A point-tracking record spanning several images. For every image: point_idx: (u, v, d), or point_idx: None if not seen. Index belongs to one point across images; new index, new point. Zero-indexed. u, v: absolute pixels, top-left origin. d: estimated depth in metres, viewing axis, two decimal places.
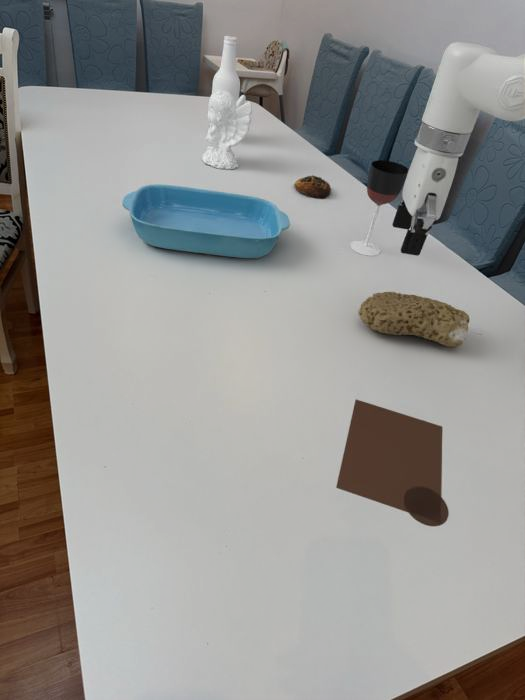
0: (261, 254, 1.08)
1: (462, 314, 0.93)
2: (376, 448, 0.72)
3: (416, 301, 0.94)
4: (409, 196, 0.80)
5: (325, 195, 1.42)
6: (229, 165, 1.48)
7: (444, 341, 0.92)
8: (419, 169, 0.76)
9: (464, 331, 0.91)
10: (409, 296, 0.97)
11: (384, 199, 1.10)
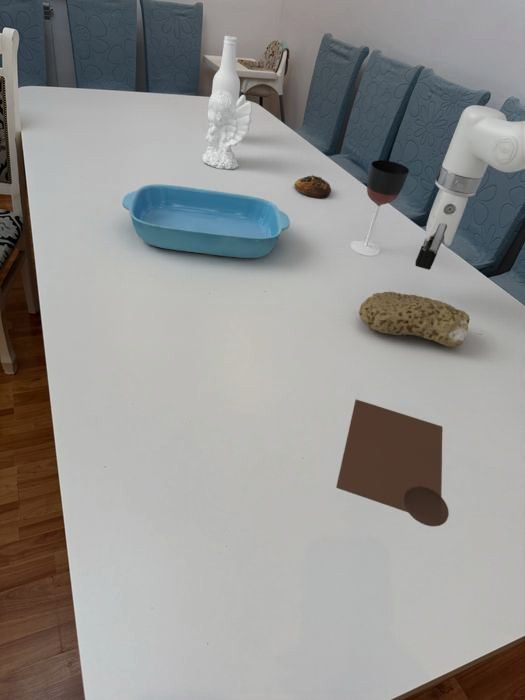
0: (261, 254, 1.08)
1: (462, 314, 0.93)
2: (376, 448, 0.72)
3: (416, 301, 0.94)
4: (428, 224, 0.96)
5: (325, 195, 1.42)
6: (229, 165, 1.48)
7: (444, 341, 0.92)
8: (436, 203, 0.93)
9: (464, 331, 0.91)
10: (409, 296, 0.97)
11: (384, 199, 1.10)
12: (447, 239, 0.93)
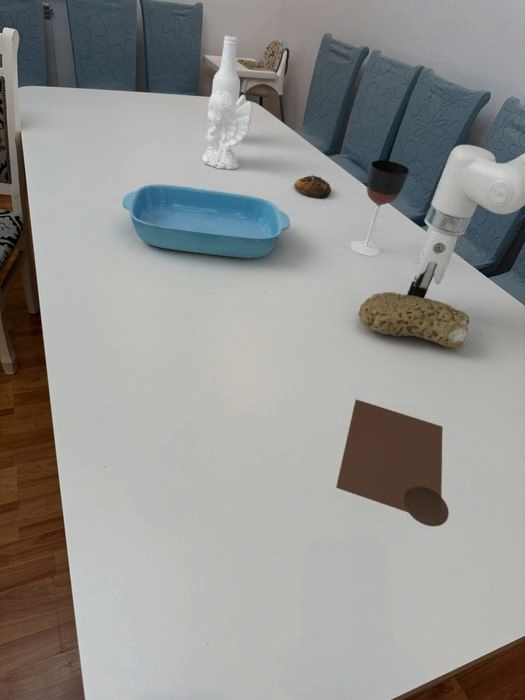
0: (261, 254, 1.08)
1: (462, 315, 0.93)
2: (376, 448, 0.72)
3: (416, 302, 0.94)
4: (418, 261, 0.95)
5: (325, 195, 1.42)
6: (229, 165, 1.48)
7: (444, 342, 0.91)
8: (425, 241, 0.91)
9: (464, 332, 0.91)
10: (409, 297, 0.96)
11: (384, 199, 1.10)
12: (437, 277, 0.92)
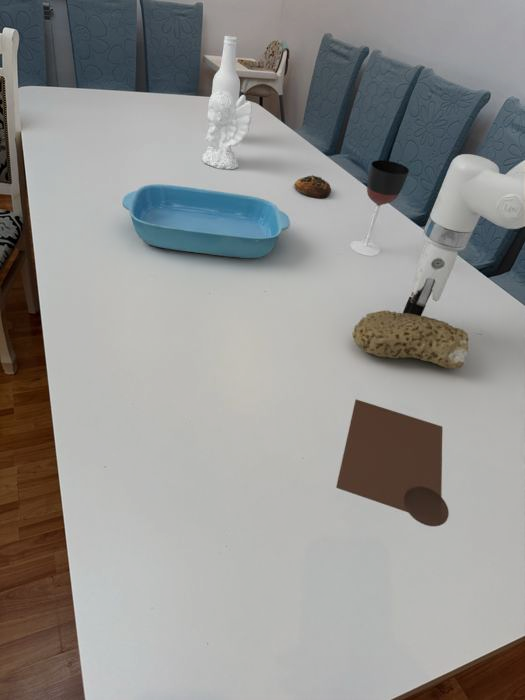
0: (261, 254, 1.08)
1: (461, 333, 0.88)
2: (376, 448, 0.72)
3: (413, 321, 0.88)
4: (415, 277, 0.89)
5: (325, 195, 1.42)
6: (229, 165, 1.48)
7: (444, 363, 0.86)
8: (423, 256, 0.86)
9: (464, 352, 0.86)
10: (404, 315, 0.91)
11: (384, 199, 1.10)
12: (435, 294, 0.86)
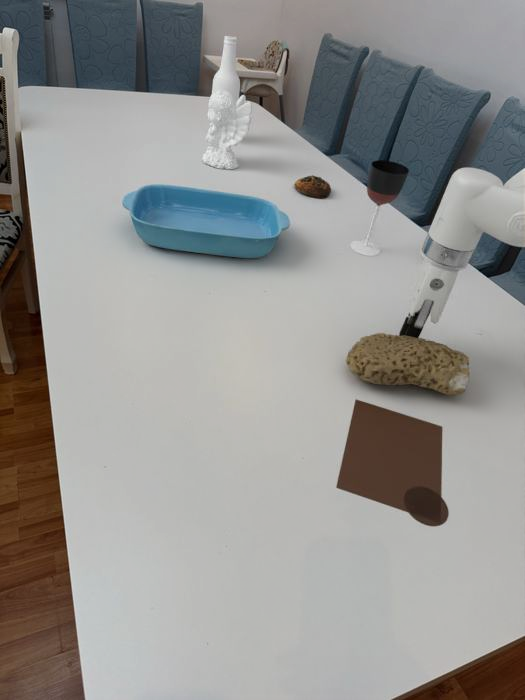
0: (261, 254, 1.08)
1: (461, 357, 0.83)
2: (376, 448, 0.72)
3: (410, 345, 0.83)
4: (412, 297, 0.83)
5: (325, 195, 1.42)
6: (229, 165, 1.48)
7: (444, 390, 0.81)
8: (421, 275, 0.80)
9: (465, 377, 0.81)
10: (401, 338, 0.85)
11: (384, 199, 1.10)
12: (434, 316, 0.81)
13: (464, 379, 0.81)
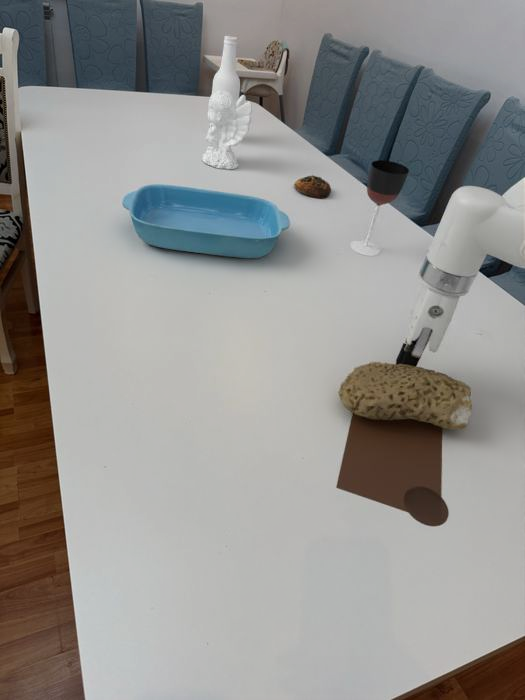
0: (261, 254, 1.08)
1: (463, 388, 0.77)
2: (376, 448, 0.72)
3: (407, 376, 0.76)
4: (409, 323, 0.77)
5: (325, 195, 1.42)
6: (229, 165, 1.48)
7: (445, 425, 0.75)
8: (419, 301, 0.74)
9: (468, 411, 0.75)
10: (397, 367, 0.79)
11: (384, 199, 1.10)
12: (433, 345, 0.74)
13: (466, 413, 0.75)
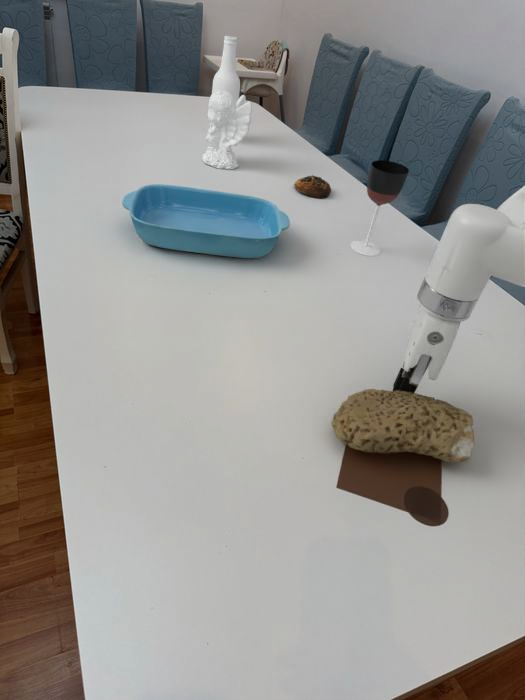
0: (261, 254, 1.08)
1: (465, 417, 0.72)
2: None
3: (405, 405, 0.71)
4: (407, 348, 0.72)
5: (325, 195, 1.42)
6: (229, 165, 1.48)
7: (445, 458, 0.70)
8: (417, 326, 0.69)
9: (470, 443, 0.70)
10: (394, 394, 0.74)
11: (384, 199, 1.10)
12: (432, 373, 0.69)
13: (468, 445, 0.70)
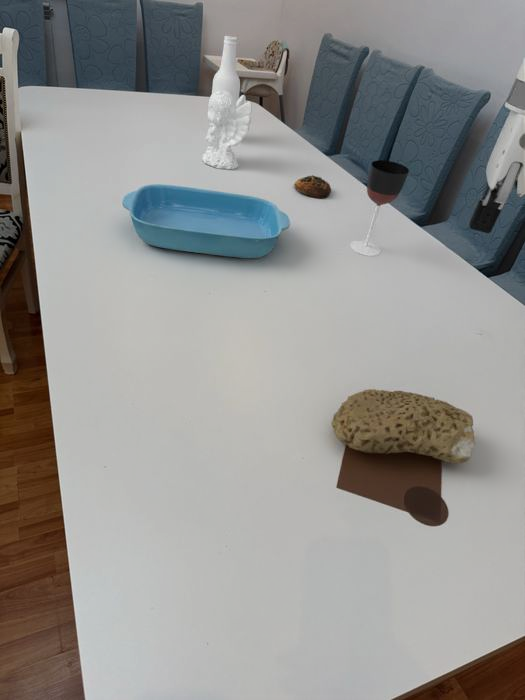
0: (261, 254, 1.08)
1: (465, 418, 0.72)
2: None
3: (405, 405, 0.71)
4: (491, 167, 0.69)
5: (325, 195, 1.42)
6: (229, 165, 1.48)
7: (446, 458, 0.69)
8: (506, 134, 0.66)
9: (470, 443, 0.70)
10: (394, 394, 0.74)
11: (384, 199, 1.10)
12: (522, 185, 0.67)
13: (469, 445, 0.70)
